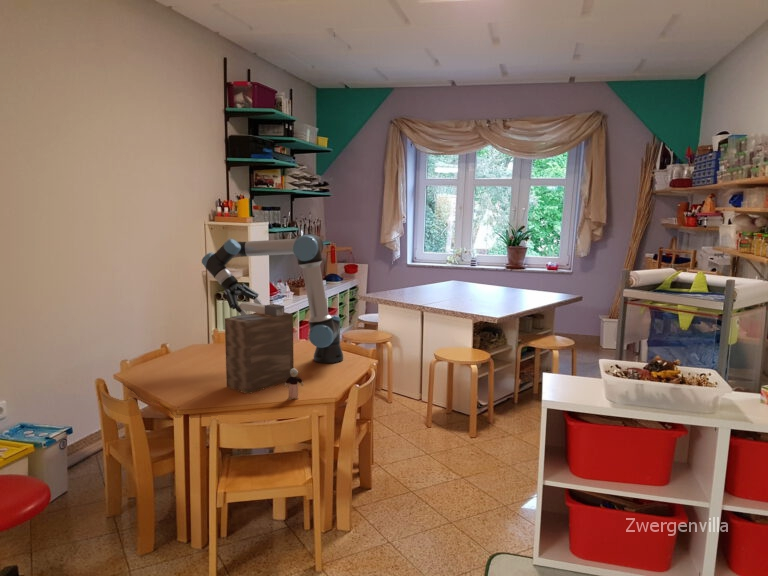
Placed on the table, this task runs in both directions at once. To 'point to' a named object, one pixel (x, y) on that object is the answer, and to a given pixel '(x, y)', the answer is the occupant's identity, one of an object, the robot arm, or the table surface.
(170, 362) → the table surface
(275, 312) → the bar
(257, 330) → the walnut shelf
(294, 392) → the grandmother figurine
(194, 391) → the table surface
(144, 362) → the table surface
